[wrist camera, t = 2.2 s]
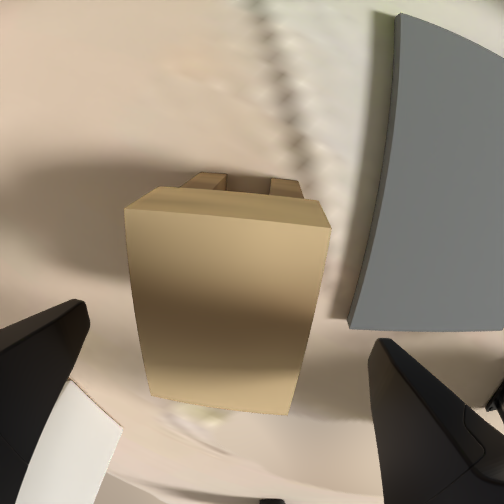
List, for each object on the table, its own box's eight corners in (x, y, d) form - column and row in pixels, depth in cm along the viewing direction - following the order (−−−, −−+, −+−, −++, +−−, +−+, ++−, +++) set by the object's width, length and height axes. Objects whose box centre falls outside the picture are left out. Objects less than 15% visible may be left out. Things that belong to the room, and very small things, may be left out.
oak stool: (286, 307, 16) (287, 415, 10) (193, 296, 16) (151, 395, 10) (305, 175, 13) (331, 228, 7) (194, 165, 13) (123, 208, 7)
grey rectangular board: (496, 323, 16) (502, 330, 15) (347, 320, 16) (349, 329, 15) (553, 97, 9) (561, 98, 8) (394, 17, 10) (400, 12, 9)
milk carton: (85, 430, 25) (27, 562, 8) (39, 387, 23) (-39, 521, 6) (124, 427, 23) (64, 590, 6) (71, 377, 21) (-20, 548, 4)
